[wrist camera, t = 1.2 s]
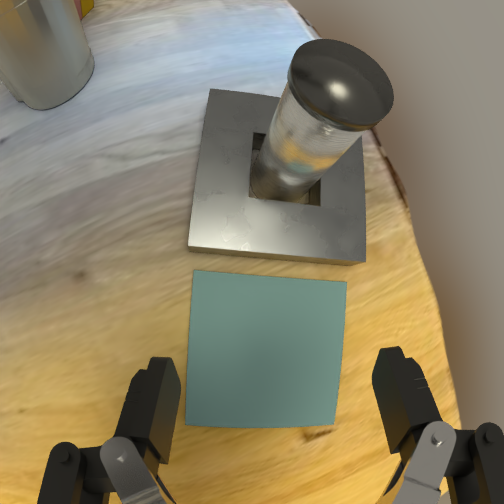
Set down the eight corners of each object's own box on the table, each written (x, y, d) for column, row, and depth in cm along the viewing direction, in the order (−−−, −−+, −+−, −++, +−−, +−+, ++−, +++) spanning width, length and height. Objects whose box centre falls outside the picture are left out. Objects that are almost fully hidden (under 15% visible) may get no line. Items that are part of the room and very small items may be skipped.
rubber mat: (185, 422, 24) (185, 424, 23) (194, 270, 26) (193, 270, 25) (331, 422, 25) (333, 424, 25) (344, 282, 27) (346, 282, 27)
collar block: (189, 251, 26) (187, 245, 23) (208, 106, 28) (210, 88, 25) (350, 266, 28) (365, 262, 25) (347, 129, 30) (359, 114, 27)
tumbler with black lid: (245, 206, 27) (292, 107, 12) (250, 150, 28) (292, 29, 13) (306, 213, 28) (400, 133, 13) (307, 158, 29) (385, 55, 14)
